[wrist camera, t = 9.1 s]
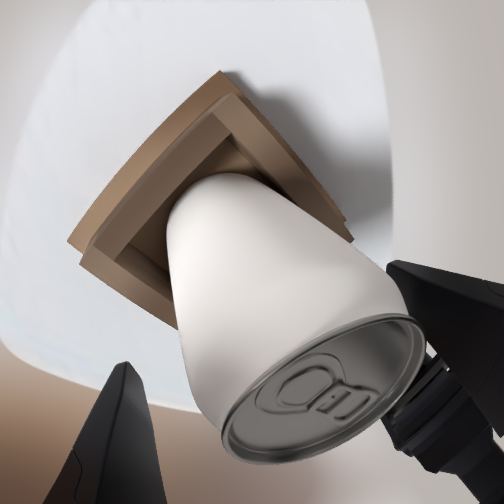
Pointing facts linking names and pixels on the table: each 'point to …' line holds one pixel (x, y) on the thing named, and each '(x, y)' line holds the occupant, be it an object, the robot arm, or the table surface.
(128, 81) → the table surface
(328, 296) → the can
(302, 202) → the socket
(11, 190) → the table surface
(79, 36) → the table surface
